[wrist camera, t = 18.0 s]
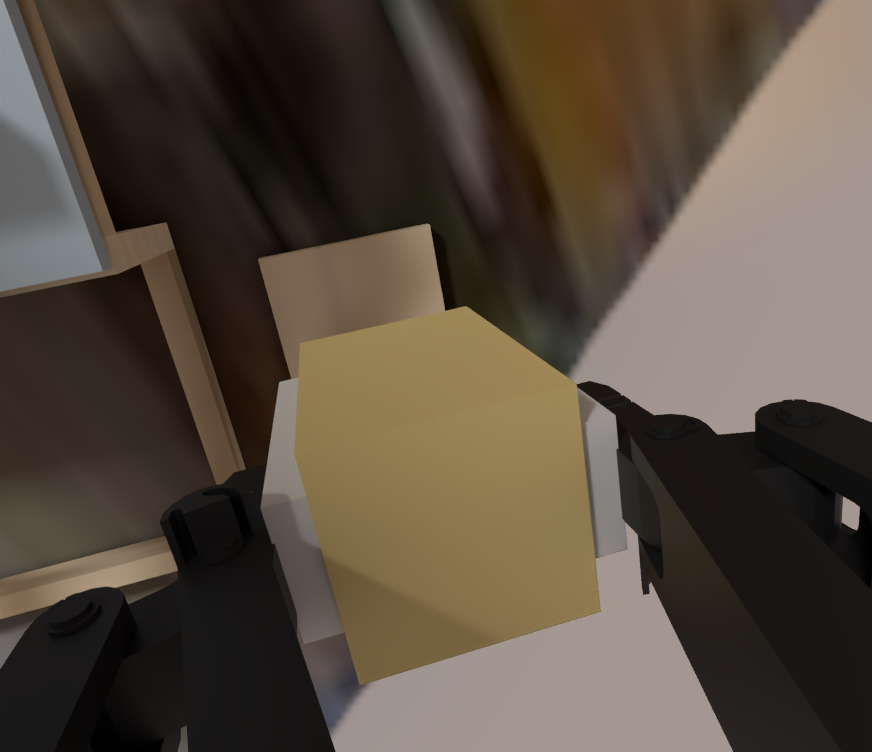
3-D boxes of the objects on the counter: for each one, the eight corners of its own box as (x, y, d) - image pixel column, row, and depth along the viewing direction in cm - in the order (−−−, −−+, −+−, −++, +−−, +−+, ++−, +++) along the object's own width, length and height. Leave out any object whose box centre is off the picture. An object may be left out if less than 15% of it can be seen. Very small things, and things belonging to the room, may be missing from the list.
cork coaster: (302, 415, 26) (302, 420, 26) (259, 257, 24) (257, 259, 23) (454, 378, 27) (457, 382, 27) (427, 223, 25) (429, 224, 24)
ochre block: (339, 493, 17) (359, 685, 10) (299, 343, 15) (293, 454, 9) (490, 454, 17) (600, 611, 11) (466, 306, 16) (576, 384, 9)
